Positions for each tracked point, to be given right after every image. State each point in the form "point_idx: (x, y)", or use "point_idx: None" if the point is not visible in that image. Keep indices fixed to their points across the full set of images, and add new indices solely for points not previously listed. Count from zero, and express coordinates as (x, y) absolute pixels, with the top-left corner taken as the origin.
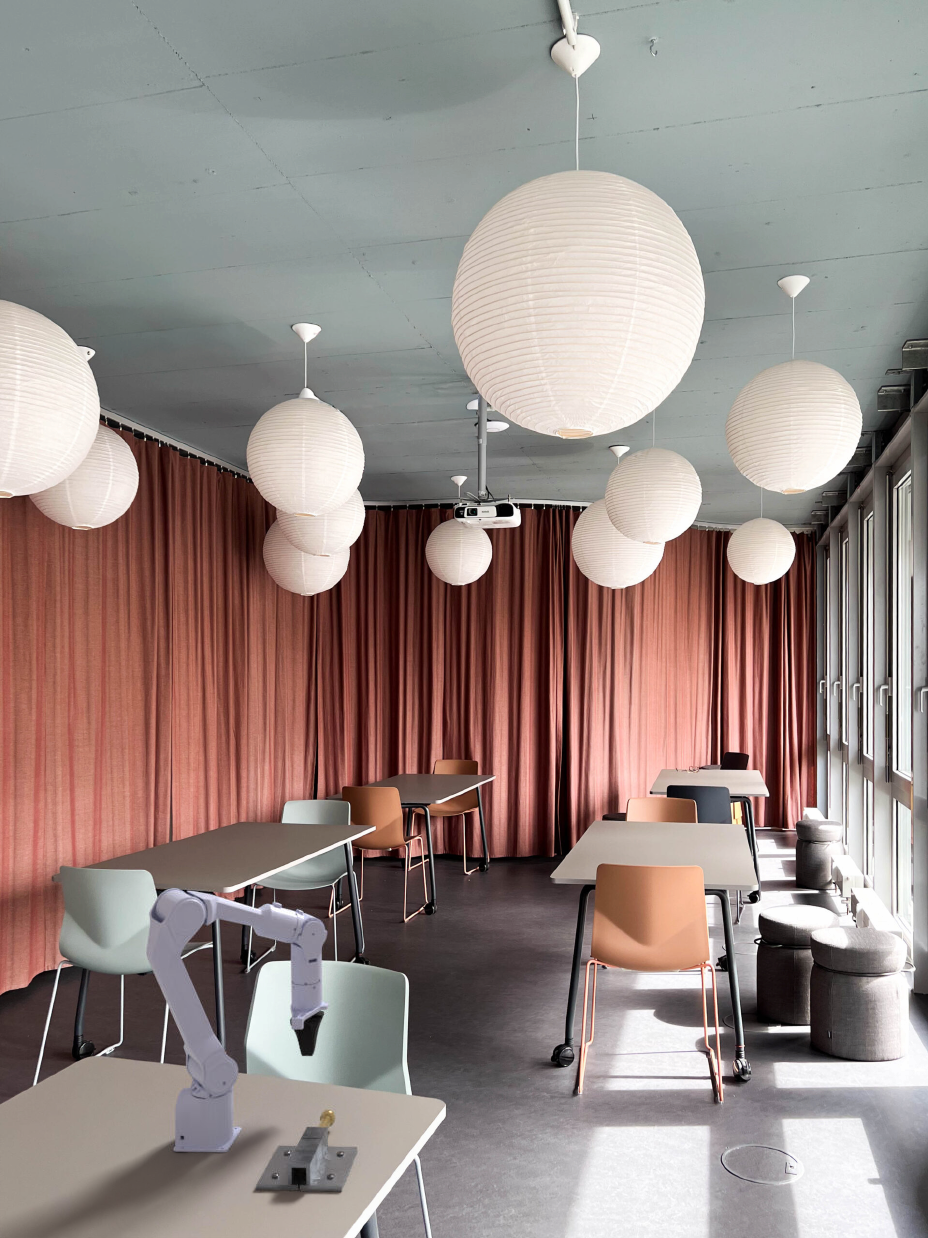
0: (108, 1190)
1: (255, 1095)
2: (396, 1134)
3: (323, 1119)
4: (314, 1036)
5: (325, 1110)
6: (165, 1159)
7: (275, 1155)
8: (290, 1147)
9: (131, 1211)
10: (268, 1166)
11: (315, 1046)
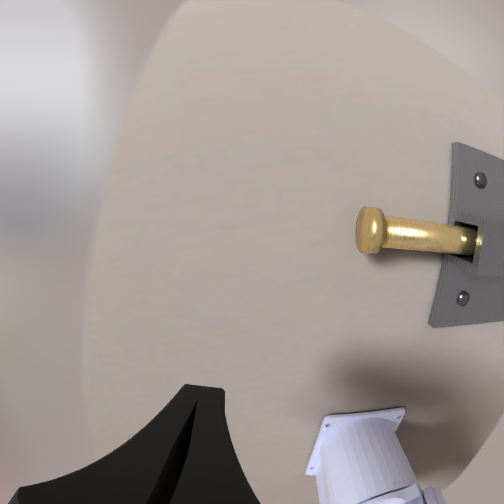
0: (432, 468)
1: None
2: (368, 51)
3: (411, 239)
4: (241, 475)
5: (371, 241)
6: None
7: (463, 320)
8: (446, 299)
9: (480, 429)
10: (488, 319)
11: (173, 401)
